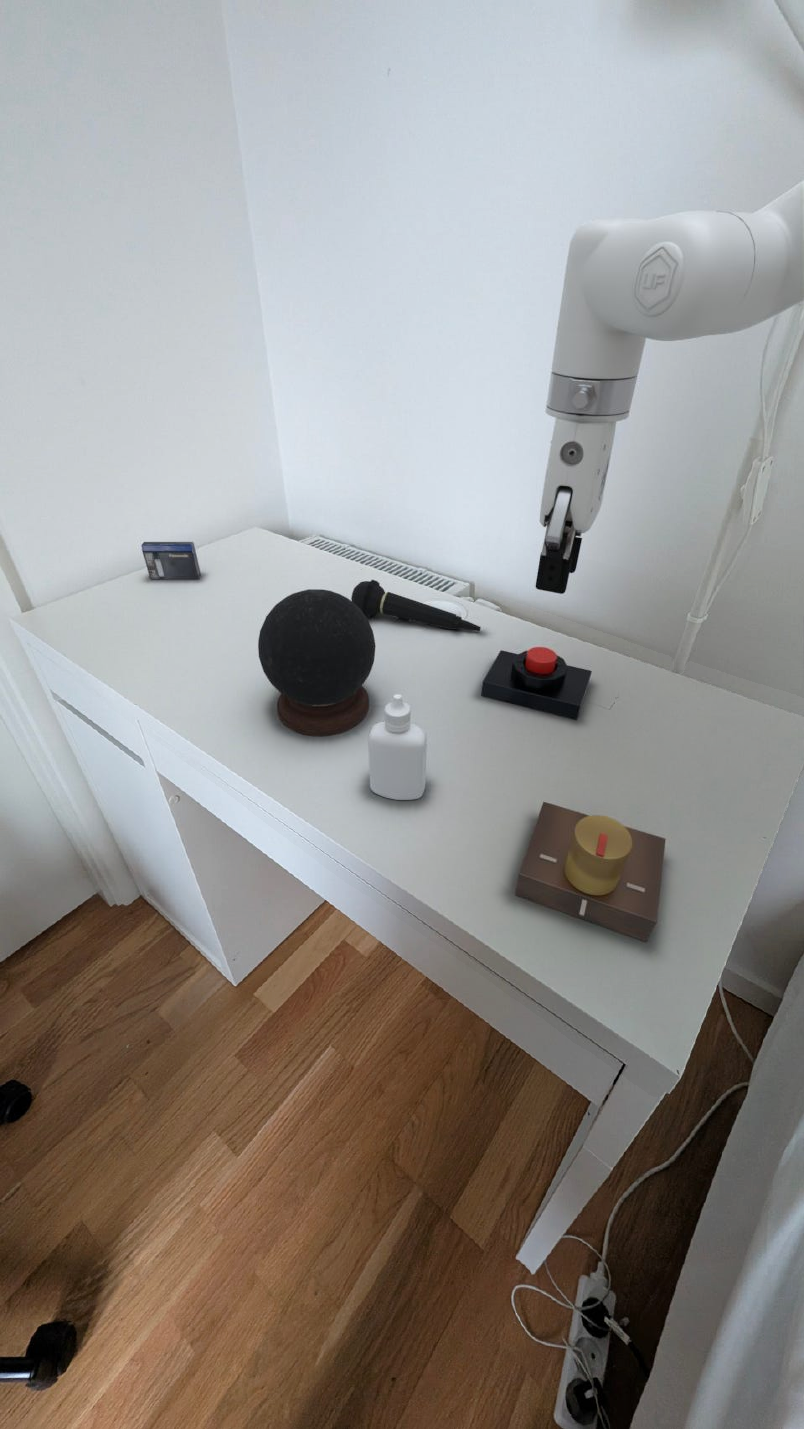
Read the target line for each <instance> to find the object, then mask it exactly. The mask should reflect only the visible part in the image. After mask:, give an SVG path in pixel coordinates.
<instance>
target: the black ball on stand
mask: <svg viewBox="0 0 804 1429" xmlns="http://www.w3.org/2000/svg"><path fill="white" fill-rule="evenodd" d="M257 640H258V641H257V643H258V644H257V649H258V650H257V651H258V660H259V662H260V665H261V668H262V670H263V673H264V675H265V677H266V679H267V680H268V681H269V682H270V684H271V685H272V687H274V688H275V689H276V690H277V692H279V693H280V695H279V697H278V699H277V701H276V711H277V716H278V718H279V720H280V722H281V723H282V725H283V726H285V727H286V728H287V729H288V730H290V731H292V732H294V733H297V734H300V735H303V736H311V737H327V736H334V735H339V734H341V733H344V732H348V731H350V730H351V729H353V728H354V727H357V726H358V725H359V724H360V723H361V722H362V721H363V720H364V719H365V718H366V717H367V715H368V712H369V710H370V697H369V694H368V692H367V690H366V688H365V687H364V686H363V685H364V684H365V682H366V681H367V679H368V677H369V676H370V674H371V671H372V669H373V666H374V663H375V657H376V640H375V634H374V630H373V628H372V625H371V623H370V621H369V619H368V617H366V616H365V615H364V613H363V612H362V611H361V609H360V608H359V607H358V606H356V605H355V604H354V603H353V602H352V600H351V599H349V598H348V597H346V596H344V595H343V594H340V593H337V592H335V591H332V590H330V589H329V590H328V589H322V588H321V589H314V588H313V589H304V590H301V591H297V592H294V593H291V594H289V595H287V596H286V597H284V598H282V599H281V600H280V601H279V602H278V603H276V604H275V605H274V606H273V608H272V609H271V610H270V611H269V612H268V614H267V615H266V616H265V619H264V621H263V623H262V625H261V628H260V630H259V634H258V639H257Z"/></svg>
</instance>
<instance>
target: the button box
mask: <svg viewBox="0 0 804 1429" xmlns="http://www.w3.org/2000/svg"><path fill="white" fill-rule="evenodd" d="M527 652H528V650H524V651H522V652H520V653H516V652H510V651H506V650H502V649H501V650H500V651H499V653H498V654H497V655H496V657H495V660H494V661H493V663H492V664H491V667H490V668H489V670H488V672H487V674H486V675H485V677H484V679H483V680H482V685H481V692H480V693H481V697H485V698H490V699H493V700H497V701H501V702H505V703H509V704H513V705H517V706H520V707H525V708H528V709H533V710H536V711H540V712H544V713H547V714H552V715H556V716H558V717H559V716H560V717H564V718H568V719H571V720H576V721H577V720H578V718H579V716H580V713H581V709H582V706H583V703H584V699H585V697H586V694H587V690H588V688H589V684H590V680H591V676H592V672H593V671H592V670H590V669H585V668H581V667H577V666H572V665H569V664H567V663H566V661H565V659H564V658H563V657H561V656H560V655H558V654H556V655H557V659H556V664H555V669H554V671H553V672H552V673H550V674H539V673H534V672H531V671H530V670H528V669H527V668H526V666H525V662H526V656H527Z"/></svg>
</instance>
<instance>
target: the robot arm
mask: <svg viewBox="0 0 804 1429" xmlns="http://www.w3.org/2000/svg"><path fill="white" fill-rule="evenodd" d="M560 302H561V303H560V308H559V314H558V321H557V322H558V323H557V327H556V335H555V341H554V349H553V356H552V363H551V372H550V376H549V383H548V392H547V397H546V398H547V399H546V404H545V405H546V406H545V414H546V415H548V416H550V417H553V418H555V420H554V426H553V431H552V436H551V441H550V447H549V453H548V457H547V458H548V459H547V464H546V469H545V470H546V471H545V475H544V483H543V489H542V494H541V495H542V496H541V501H540V502H541V504H540V509H539V510H540V511H539V523H540V525H541V526H542V527H543V528H546V529H545V534H544V539H543V544H542V548H541V549H542V550H541V552H540V555H539V562H538V567H537V574H536V575H537V576H536V578H535V579H536V580H535V589H536V590H540V591H542V592H543V591H544V592H548V593H549V592H550V593H554V594H560V595H564V594H565V593H566V590H567V587H568V582H569V576H570V574H574V573H575V572H576V570H577V567H578V562H579V556H580V551H581V546H582V542H583V541H582V540H583V537H582V534H585V533H587V532H588V531H589V530H590V529H592V527H593V524H594V523H595V520H596V518H597V517H598V514H599V512H600V510H601V507H602V504H603V498H604V493H605V488H606V482H607V476H608V472H609V468H610V463H611V462H610V461H611V456H612V451H613V446H614V441H615V435H616V427H617V422H620V421H623V420H626V419H628V418H629V416H630V411H631V406H632V402H633V397H634V393H635V389H636V384H637V380H638V375H639V371H640V366H641V362H642V357H643V353H644V349H645V345H646V340H647V339H649V340H652V341H653V340H654V341H660V342H675V341H683V340H684V341H685V340H691V339H696V338H702V337H707V336H716V335H717V336H719V335H726V334H733V333H736V332H740V331H744V330H746V329H750V328H752V327H754V326H756V325H759V324H760V323H763V322H765V321H767V320H769V319H771V318H773V317H775V316H777V315H779V314H781V313H783V312H785V311H787V310H788V309H790V308H793V307H794V306H796V305H798V304H800V303H802V302H804V179H803V180H802V181H800V182H799V183H798V184H796V185H795V186H793V187H791V188H789V190H787V191H786V192H784V193H783V194H780V195H779V196H778V197H777V198H775V199H774V200H772V201H771V202H769V203H767V204H766V205H765V206H763V207H762V208H760V209H758V210H756V211H754V212H743V211H741V212H739V211H724V210H723V211H722V210H716V211H713V210H687V211H682V212H676V213H671V214H668V215H662V216H659V217H656V218H651V219H649V218H625V217H624V218H623V217H622V218H598V219H591V220H587V221H586V222H584V223H583V222H582V223H581V225H579V226H578V227H577V228H576V229H575V231H574V233H573V234H572V237H571V238H570V242H569V248H568V252H567V258H566V265H565V273H564V280H563V287H562V293H561V301H560Z"/></svg>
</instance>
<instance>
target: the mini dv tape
mask: <svg viewBox="0 0 804 1429" xmlns="http://www.w3.org/2000/svg"><path fill="white" fill-rule="evenodd" d="M140 547H141V551H142V555H143V559H144V562H145V565H146V569H147V572H148V575H149V576H148V577H149V579H150V580H200V578H201V576H202V572H201V568H200V564H199V560H198V556H197V550H196V546H195V542H193V541H143V542H142V544H141V546H140Z"/></svg>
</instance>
